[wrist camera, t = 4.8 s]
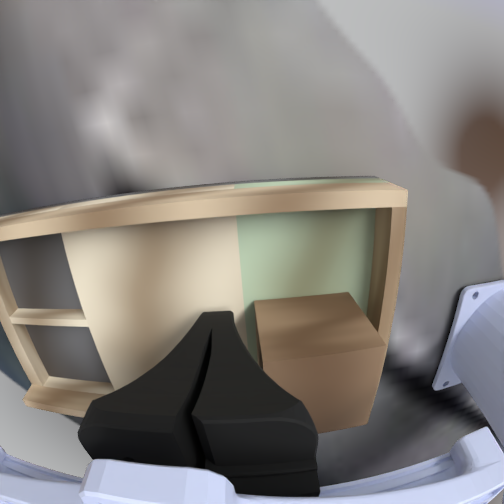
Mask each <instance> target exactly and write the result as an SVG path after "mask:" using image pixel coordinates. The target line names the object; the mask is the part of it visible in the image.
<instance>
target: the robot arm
mask: <svg viewBox="0 0 504 504" xmlns="http://www.w3.org/2000/svg"><path fill="white" fill-rule="evenodd" d="M473 294H474V295H473ZM460 383H463V385H464V386H465V388H466V389H467V391H468V392H469V393H470V395H471V396H472V398H473V399H474V401H475V402H476V404H477V405H478V407H479V408H480V410H481V411H482V413H483V414H484V416H485V418H486V419H487V421H488V422H489V424H490V425H491V427H492V429H493V430H494V432H495V433H496V435H497V437H498V438H499V440H500V442H501V443H502V445H503V446H504V280H499V281H494V282H489V283H483V284H478V285H472V286H467V287H465V288H464V289H463V290H462V292H461V294H460V298H459V302H458V306H457V309H456V313H455V317H454V321H453V324H452V327H451V331H450V334H449V337H448V341H447V344H446V347H445V350H444V353H443V356H442V359H441V362H440V365H439V367H438V370H437V373H436V376H435V378H434V381H433V384H432V387H433V389H434V390H441V389H444V388H447V387H450V386H454V385H457V384H460ZM78 438H79V440H80V442H81V444H82V445H83V447H84V448H85V450H86V451H87V452H88V454H89V455H90V456H91V458H92V459H93V461H91V462H90V463H89V464H88V466H87V469H86V471H85V474H84V478H80V477H76V476H72V475H69V474H65V473H61V472H58V471H54V470H51V469H48V468H45V467H41V466H38V465H35V464H32V463H30V462H27V461H24V460H21V459H18V458H16V457H13V456H11V455H8V454H6V452H5V451H4V449H3V448H2V447H1V446H0V504H487V503H488V502H490V501H491V500H492V499H493V498H494V497H495V496H496V495H497V494H498V493H499V492H500V491H501V490H503V489H504V453H503V452H502V450H501V448H500V447H499V445H498V443H497V442H496V440H495V438H494V437H493V435H492V433H491V432H490V430H489V429H488V427H484V428H481V429H479V430H477V431H475V432H472V433H470V434H468V435H465V436H463V437H462V438H460V439H459V440H458V441H456V443H455V444H454V445H453V447H452V448H451V450H450V452H449V453H446V454H444V455H441V456H438V457H436V458H433V459H430V460H427V461H424V462H421V463H418V464H415V465H412V466H409V467H406V468H402V469H399V470H396V471H392V472H389V473H385V474H381V475H377V476H373V477H369V478H365V479H360V480H356V481H351V482H346V483H341V484H336V485H330V486H324V487H320V486H319V481H318V476H317V462H316V451H317V445H318V433H317V429H316V427H315V424H314V422H313V420H312V418H311V416H310V414H309V412H308V410H307V409H306V407H305V405H304V404H303V402H302V401H300V400H299V399H297V398H296V397H294V396H292V395H291V394H290V393H288V392H287V391H285V390H284V389H283V388H282V387H280V386H279V385H278V384H277V383H276V382H275V381H274V380H272V379H271V378H270V377H269V376H268V375H267V374H266V373H265V372H264V371H263V370H262V368H261V367H260V366H259V365H258V364H257V362H256V361H255V360H254V359H253V357H252V356H251V354H250V353H249V351H248V350H247V348H246V346H245V345H244V343H243V341H242V339H241V337H240V335H239V333H238V331H237V328H236V325H235V322H234V313H233V312H232V311H212V312H203V313H202V314H201V315H200V316H199V318H198V319H197V320H196V322H195V323H194V324H193V326H192V327H191V328H190V330H189V331H188V332H187V333H186V335H185V336H184V337H183V338H182V340H181V341H180V342H179V343H178V344H177V345H176V346H175V347H174V349H173V350H172V351H171V352H170V353H169V354H168V355H167V356H166V357H165V358H164V359H163V360H161V361H160V362H159V363H158V364H157V365H155V366H154V367H153V368H152V369H150V370H149V371H147V372H146V373H145V374H143V375H142V376H140V377H139V378H137V379H136V380H134V381H132V382H131V383H129V384H127V385H125V386H124V387H122V388H120V389H118V390H116V391H114V392H112V393H109V394H107V395H104V396H102V397H100V398H97V399H95V400H92V402H91V404H90V405H89V407H88V409H87V411H86V414H85V416H84V419H83V421H82V423H81V426H80V428H79V431H78ZM502 504H504V494H503V502H502Z"/></svg>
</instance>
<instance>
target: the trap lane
mask: <svg viewBox="0 0 504 504" xmlns="http://www.w3.org/2000/svg"><path fill="white" fill-rule="evenodd" d="M407 195H408V190H406V189H404V188H402V187H399V186H397V185H395V184H392V183H390V182H387V181H385V180H383V179H380V178H378V177H375V176H349V177H312V178H289V179H270V180H254V181H240V182H227V183H215V184H204V185H194V186H184V187H174V188H165V189H157V190H148V191H140V192H133V193H125V194H118V195H111V196H104V197H97V198H91V199H85V200H78V201H72V202H67V203H61V204H55V205H50V206H44V207H39V208H34V209H29V210H24V211H19V212H14V213H9V214H4V215H0V321H1V323H2V325H3V328H4V330H5V332H6V334H7V337H8V339H9V341H10V343H11V345H12V347H13V349H14V351H15V353H16V355H17V357H18V359H19V361H20V363H21V365H22V367H23V369H24V371H25V372H26V374H27V376H28V378H29V380H30V381H31V383H32V385H31V387H30V388H29V390H28V391H27V393H26V395H25V396H24V398H23V401H24V403H25V404H26V406H29V407H33V408H37V409H41V410H46V411H51V412H55V413H61V414H66V415H72V416H77V417H84V416H85V414H86V411H87V409H88V407H89V405H90V404H91V402H92V400H95V399H97V398H100V397H102V396H104V395H107V394H109V393H112V392H114V391H116V390H118V389H120V388H122V387H124V386H125V385H127V384H129V383H131V382H132V381H134V380H136V379H137V378H139V377H140V376H142V375H143V374H145V373H146V372H147V371H149V370H150V369H152V368H153V367H154V366H155V365H157V364H158V363H159V362H160V361H161V360H163V359H164V358H165V357H166V356H167V355H168V354H169V353H170V352H171V351H172V350H173V349H174V347H175V346H176V345H177V344H178V343H179V342H180V341H181V340H182V338H183V337H184V336H185V335H186V333H187V332H188V331H189V330H190V328H191V327H192V326H193V324H194V323H195V322H196V320H197V319H198V318H199V316H200V315H201V314H202V313H203V312H212V311H232V312H233V313H234V322H235V325H236V328H237V331H238V333H239V335H240V337H241V339H242V341H243V343H244V345H245V346H246V348H247V350H248V351H249V353H250V354H251V356H252V357H253V359H254V360H255V361H256V362H257V364H258V358H257V341H256V324H255V307H254V301H255V300H268V299H280V298H292V297H302V296H313V295H323V294H333V293H342V292H349V293H350V295H351V296H352V297H353V299H354V300H355V301H356V303H357V304H358V306H359V307H360V308H361V310H362V311H363V312H364V314H365V315H366V317H367V318H368V319H369V321H370V322H371V324H372V325H373V327H374V328H375V329H376V331H377V332H378V334H379V335H380V336H381V338H382V339H383V341H384V342H385V344H386V345H387V346H386V351H387V347H388V342H389V337H390V332H391V327H392V322H393V316H394V311H395V305H396V299H397V292H398V286H399V279H400V272H401V264H402V255H403V246H404V236H405V225H406V212H407ZM386 351H385V356H386ZM385 356H384V360H385ZM383 364H384V361H383ZM382 369H383V365H382ZM381 373H382V370H381ZM380 377H381V374H380ZM379 381H380V378H379ZM378 384H379V382H378ZM377 388H378V386H377ZM376 392H377V390H376ZM375 396H376V394H375ZM374 399H375V398H374ZM373 403H374V402H373ZM371 410H372V409H371Z"/></svg>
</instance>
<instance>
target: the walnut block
mask: <svg viewBox="0 0 504 504" xmlns="http://www.w3.org/2000/svg"><path fill="white" fill-rule="evenodd" d="M254 307H255V324H256V341H257V358H258V365H259V366H260V367H261V368H262V370H263V371H264V372H265V373H266V374H267V375H268V376H269V377H270V378H271V379H272V380H274V381H275V382H276V383H277V384H278V385H279V386H280V387H282V388H283V389H284V390H285V391H287V392H288V393H290V394H291V395H292V396H294V397H296V398H297V399H299V400H300V401H302V402H303V404H304V405H305V407H306V409H307V410H308V412H309V414H310V416H311V418H312V420H313V422H314V424H315V427H316V429H317V433H318V434H319V433H325V432H330V431H336V430H341V429H346V428H351V427H356V426H361V425H365V424H367V423H368V420H369V416H370V413H371V409H372V406H373V402H374V398H375V394H376V390H377V386H378V382H379V378H380V374H381V370H382V365H383V361H384V356H385V351H386V346H387V345H386V344H385V342H384V341H383V339H382V338H381V336H380V335H379V334H378V332H377V331H376V329H375V328H374V327H373V325H372V324H371V322H370V321H369V319H368V318H367V317H366V315H365V314H364V312H363V311H362V310H361V308H360V307H359V306H358V304H357V303H356V301H355V300H354V299H353V297H352V296H351V295H350V293H349V292H342V293H333V294H323V295H313V296H302V297H292V298H280V299H268V300H255V301H254Z"/></svg>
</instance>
